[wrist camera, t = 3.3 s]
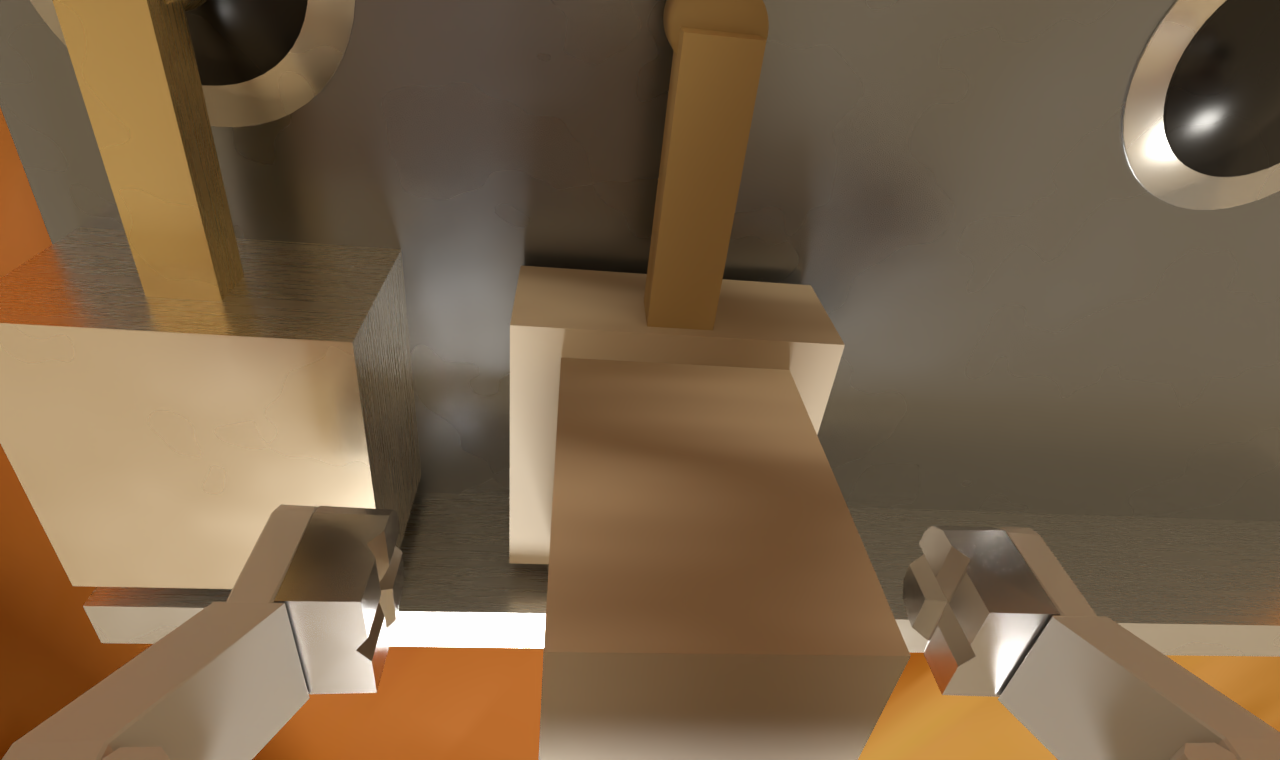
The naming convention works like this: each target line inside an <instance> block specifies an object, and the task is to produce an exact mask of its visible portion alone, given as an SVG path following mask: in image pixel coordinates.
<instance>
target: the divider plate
mask: <svg viewBox="0 0 1280 760" xmlns="http://www.w3.org/2000/svg"><path fill="white" fill-rule="evenodd" d="M763 2H764V4H765V7H766V10H767V14H768V22H769V29H768V37H767V41H766V46H765V51H764V57H763V62H762V68H761V73H760V79H759V84H758V89H757V95H756V100H755V106H754V111H753V117H752V122H751V127H750V133H749V138H748V144H747V149H746V154H745V160H744V165H743V171H742V176H741V182H740V187H739V192H738V198H737V203H736V209H735V214H734V220H733V225H732V230H731V236H730V241H729V247H728V252H727V258H726V263H725V268H724V274H723V279H726V280H741V281H756V282H771V283H785V284H800V285H811V286H812V288H813V290H814V292H815V293H816V295H817V297H818V299H819V300H820V302H821V304H822V306H823V307H824V309H825V311H826V313H827V314H828V316H829V318H830V320H831V321H832V323H833V325H834V327H835V328H836V330H837V332H838V334H839V335H840V337H841V339H842V341H843V342H844V344H845V346H844V350H843V353H842V356H841V359H840V363H839V366H838V369H837V373H836V376H835V379H834V382H833V386H832V389H831V392H830V395H829V399H828V402H827V405H826V408H825V412H824V415H823V418H822V421H821V425H820V428H819V431H818V435H817V436H818V438H819V441H820V443H821V445H822V448H823V450H824V453H825V455H826V457H827V460H828V462H829V464H830V467H831V469H832V471H833V474H834V476H835V478H836V481H837V483H838V486H839V488H840V490H841V493H842V495H843V497H844V500H845V502H846V504H847V507H848V509H849V512H850V514H851V516H852V519H853V521H854V523H855V526H856V528H857V530H858V533H859V535H860V538H861V540H862V542H863V545H864V547H865V549H866V552H867V554H868V556H869V559H870V561H871V563H872V566H873V568H874V571H875V573H876V575H877V578H878V580H879V582H880V585H881V587H882V589H883V592H884V594H885V597H886V599H887V601H888V604H889V606H890V608H891V611H892V613H893V615H894V618H895V620H896V622H897V625H898V627H899V630H900V632H901V634H902V637H903V639H904V641H905V644H906V646H907V648H908V651H909V652H924V651H925V648H926V644H927V641H928V640H927V639H925V638H924V637H923V636H922V635H921V634H919V633H918V632H917V631H916V630H915V629H913V628H912V626H911V624H910V621H909V619H908V617H907V614H906V612H905V607H904V603H903V579H904V577H905V574H906V572H907V569H908V567H909V564H911V563H912V562H914V561H915V560H916V559H918V558H919V557H921V556H922V555H924V554H923V552H922V549H921V547H920V545H919V542H920V540H921V538H922V536H923V534H924V532H925V531H926V530H927V529H929V528H930V527H931V526H970V527H993V528H996V527H1021V528H1031V529H1032V530H1034V531H1035V532H1037V533H1038V534H1039V535H1040V536H1041V538H1042V539H1043V540H1044V542H1045V543H1046V545H1047V546H1048V547H1049V549H1050V550H1051V552H1052V553H1053V554H1054V556H1055V557H1056V559H1057V560H1058V561H1059V563H1060V564H1061V566H1062V567H1063V569H1064V570H1065V571H1066V573H1067V574H1068V576H1069V577H1070V578H1071V580H1072V581H1073V583H1074V584H1075V585H1076V587H1077V588H1078V590H1079V591H1080V592H1081V594H1082V595H1083V597H1084V598H1085V599H1086V601H1087V602H1088V604H1089V605H1090V606H1091V608H1092V609H1093V611H1094V612H1095V613H1096V615H1097V616H1098V617H1109V618H1110V619H1112V620H1113V621H1115V622H1116V623H1118V624H1119V625H1121V626H1122V627H1124V628H1125V629H1127V630H1128V631H1130V632H1131V633H1132V634H1134V635H1135V636H1137V637H1138V638H1140V639H1141V640H1143V641H1144V642H1146V643H1147V644H1149V645H1150V646H1152V647H1153V648H1155V649H1156V650H1158V651H1159V652H1161V653H1162V654H1164V655H1197V656H1280V0H763ZM665 4H666V0H0V107H1V109H2V112H3V115H4V117H5V120H6V123H7V125H8V128H9V131H10V133H11V136H12V139H13V141H14V144H15V146H16V149H17V152H18V154H19V157H20V160H21V162H22V165H23V168H24V170H25V173H26V175H27V178H28V181H29V183H30V186H31V189H32V191H33V194H34V197H35V199H36V202H37V205H38V207H39V210H40V212H41V215H42V218H43V220H44V223H45V226H46V228H47V231H48V234H49V236H50V239H51V241H52V244H53V245H51V246H50V247H48V248H47V249H45V250H44V251H42V252H41V253H39V254H37V255H36V256H34V257H33V258H31V259H30V260H28V261H27V262H25V263H24V264H22V265H21V266H19V267H18V268H16V269H15V270H13V271H11V272H10V273H8V274H7V275H5V276H4V277H2V278H1V279H0V443H1V445H2V447H3V449H4V451H5V453H6V455H7V457H8V459H9V461H10V463H11V465H12V467H13V469H14V471H15V473H16V475H17V477H18V479H19V481H20V483H21V485H22V487H23V489H24V491H25V493H26V495H27V497H28V499H29V501H30V503H31V505H32V507H33V508H34V510H35V512H36V514H37V516H38V518H39V520H40V522H41V524H42V526H43V528H44V530H45V532H46V534H47V536H48V538H49V540H50V542H51V544H52V546H53V548H54V550H55V552H56V554H57V556H58V558H59V560H60V562H61V564H62V566H63V568H64V570H65V572H66V574H67V576H68V578H69V580H70V582H71V584H72V586H93V587H96V588H95V590H94V591H93V592H92V594H91V595H90V597H89V598H88V599H87V601H86V602H85V604H84V605H83V607H84V609H85V611H86V613H87V615H88V617H89V619H90V621H91V623H92V625H93V627H94V629H95V631H96V633H97V635H98V637H99V639H100V641H101V643H138V644H154V643H156V642H157V641H159V640H160V639H162V638H163V637H164V636H166V635H167V634H169V633H170V632H171V631H173V630H174V629H176V628H177V627H179V626H180V625H181V624H183V623H184V622H186V621H187V620H189V619H190V618H191V617H193V616H194V615H196V614H197V613H198V612H200V611H201V610H203V609H204V608H206V607H207V606H208V605H210V604H211V603H213V602H226V600H227V598H228V596H229V595H230V593H231V591H232V589H233V587H234V585H235V583H236V581H237V579H238V577H239V575H240V573H241V571H242V569H243V567H244V565H245V563H246V562H247V560H248V558H249V556H250V554H251V552H252V550H253V548H254V546H255V544H256V542H257V540H258V538H259V536H260V534H261V532H262V530H263V529H264V527H265V525H266V523H267V521H268V519H269V517H270V515H271V513H272V512H273V511H274V510H275V509H276V508H278V507H279V506H280V505H281V504H284V505H302V506H334V507H353V508H371V509H389V510H395V511H396V512H397V514H398V521H399V527H400V531H399V534H398V538H397V541H396V545H395V546H396V547H397V548H399V549H400V550H401V551H402V552H403V562H404V582H403V589H402V597H401V603H400V607H399V611H398V615H397V619H396V620H395V621H394V622H393V623H392V624H391V625H390V626H389V627H388V628H387V629H386V631H387V638H388V645H389V646H402V647H491V648H544V637H545V620H546V603H547V586H548V569H549V564H515V563H509V518H510V322H511V316H512V311H513V305H514V300H515V294H516V289H517V283H518V278H519V272H520V267H521V266H535V267H550V268H565V269H580V270H594V271H609V272H624V273H638V274H647V269H648V261H649V252H650V244H651V235H652V227H653V219H654V210H655V202H656V193H657V185H658V177H659V168H660V160H661V151H662V143H663V135H664V126H665V118H666V109H667V101H668V93H669V84H670V76H671V67H672V59H673V49H672V47H671V45H670V43H669V41H668V39H667V37H666V34H665V30H664V22H663V15H664V7H665Z"/></svg>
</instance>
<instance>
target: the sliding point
mask: <svg viewBox="0 0 1280 760" xmlns="http://www.w3.org/2000/svg"><path fill="white" fill-rule="evenodd" d="M663 22H664V30H665V34H666V37H667V39H668V41H669V43H670V45H671V47H672V49H673V59H672V67H671V76H670V84H669V93H668V101H667V109H666V118H665V126H664V135H663V143H662V151H661V160H660V168H659V177H658V185H657V193H656V202H655V210H654V219H653V227H652V235H651V244H650V252H649V261H648V269H647V274H638V273H624V272H609V271H594V270H580V269H565V268H550V267H535V266H521V267H520V272H519V278H518V283H517V289H516V294H515V300H514V305H513V311H512V316H511V322H510V518H509V563H515V564H549V569H548V586H547V603H546V620H545V637H544V655H543V677H542V699H541V721H540V743H539V760H858V758H859V756H860V754H861V752H862V750H863V748H864V746H865V744H866V742H867V740H868V739H869V737H870V735H871V733H872V731H873V729H874V727H875V725H876V723H877V721H878V719H879V717H880V715H881V713H882V711H883V709H884V707H885V705H886V703H887V701H888V699H889V697H890V695H891V693H892V692H893V690H894V688H895V686H896V684H897V682H898V680H899V678H900V676H901V674H902V672H903V670H904V668H905V666H906V664H907V662H908V660H909V658H910V653H909V651H908V648H907V646H906V644H905V641H904V639H903V637H902V634H901V632H900V630H899V627H898V625H897V622H896V620H895V618H894V615H893V613H892V611H891V608H890V606H889V604H888V601H887V599H886V597H885V594H884V592H883V589H882V587H881V585H880V582H879V580H878V578H877V575H876V573H875V571H874V568H873V566H872V563H871V561H870V559H869V556H868V554H867V552H866V549H865V547H864V545H863V542H862V540H861V538H860V535H859V533H858V530H857V528H856V526H855V523H854V521H853V519H852V516H851V514H850V512H849V509H848V507H847V504H846V502H845V500H844V497H843V495H842V493H841V490H840V488H839V486H838V483H837V481H836V478H835V476H834V474H833V471H832V469H831V467H830V464H829V462H828V460H827V457H826V455H825V453H824V450H823V448H822V445H821V443H820V441H819V438H818V436H817V435H818V431H819V428H820V425H821V421H822V418H823V415H824V412H825V408H826V405H827V402H828V399H829V395H830V392H831V389H832V386H833V382H834V379H835V376H836V373H837V369H838V366H839V363H840V359H841V356H842V353H843V350H844V346H845V344H844V342H843V341H842V339H841V337H840V335H839V334H838V332H837V330H836V328H835V327H834V325H833V323H832V321H831V320H830V318H829V316H828V314H827V313H826V311H825V309H824V307H823V306H822V304H821V302H820V300H819V299H818V297H817V295H816V293H815V292H814V290H813V288H812V286H811V285H800V284H785V283H771V282H756V281H741V280H726V279H723V274H724V268H725V263H726V258H727V252H728V247H729V241H730V236H731V230H732V225H733V220H734V214H735V209H736V203H737V198H738V192H739V187H740V182H741V176H742V171H743V165H744V160H745V154H746V149H747V144H748V138H749V133H750V127H751V122H752V117H753V111H754V106H755V100H756V95H757V89H758V84H759V79H760V73H761V68H762V62H763V57H764V51H765V46H766V41H767V37H768V29H769V22H768V14H767V10H766V7H765V4H764V2H763V0H666V4H665V7H664V15H663Z"/></svg>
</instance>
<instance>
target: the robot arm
mask: <svg viewBox="0 0 1280 760" xmlns="http://www.w3.org/2000/svg"><path fill="white" fill-rule="evenodd" d="M399 531H400V527H399V521H398V514H397V512H396V511H395V510H389V509H371V508H353V507H334V506H302V505H284V504H281V505H280V506H279V507H278V508H276V509H275V510H274V511H273V512H272V513H271V515H270V517H269V519H268V521H267V523H266V525H265V527H264V529H263V530H262V532H261V534H260V536H259V538H258V540H257V542H256V544H255V546H254V548H253V550H252V552H251V554H250V556H249V558H248V560H247V562H246V563H245V565H244V567H243V569H242V571H241V573H240V575H239V577H238V579H237V581H236V583H235V585H234V587H233V589H232V591H231V593H230V595H229V596H228V598H227V600H226V602H213V603H211V604H210V605H208V606H207V607H206V608H204V609H203V610H201V611H200V612H198V613H197V614H196V615H194V616H193V617H191V618H190V619H189V620H187V621H186V622H184V623H183V624H181V625H180V626H179V627H177V628H176V629H174V630H173V631H171V632H170V633H169V634H167V635H166V636H164V637H163V638H162V639H160V640H159V641H157V642H156V643H154V644H153V645H152V646H150V647H149V648H147V649H146V650H145V651H143V652H142V653H140V654H139V655H137V656H136V657H135V658H133V659H132V660H130V661H129V662H128V663H126V664H125V665H123V666H122V667H120V668H119V669H118V670H116V671H115V672H113V673H112V674H110V675H109V676H108V677H106V678H105V679H103V680H102V681H101V682H99V683H98V684H96V685H95V686H93V687H92V688H91V689H89V690H88V691H86V692H85V693H84V694H82V695H81V696H79V697H78V698H76V699H75V700H74V701H72V702H71V703H69V704H68V705H67V706H65V707H64V708H62V709H61V710H59V711H58V712H57V713H55V714H54V715H52V716H51V717H49V718H48V719H47V720H45V721H44V722H42V723H41V724H40V725H38V726H37V727H35V728H34V729H32V730H31V731H30V732H28V733H27V734H25V735H24V736H23V737H21V738H20V739H18V740H17V741H15V742H14V743H13V744H12V745H11V747H10V748H9V750H8V751H7V753H6V754H5V755H4V757H3V758H2V760H252V759H253V758H254V757H255V756H256V755H257V754H258V753H259V752H260V751H261V750H262V748H263V747H264V746H265V745H266V744H267V743H268V742H269V741H270V740H271V739H272V738H273V737H274V736H275V735H276V734H277V732H278V731H279V730H280V729H281V728H282V727H283V726H284V725H285V724H286V723H287V722H288V721H289V720H290V719H291V717H292V716H293V715H294V714H295V713H296V712H297V711H298V710H299V709H300V708H301V707H302V706H303V705H304V704H305V703H306V701H307V700H308V699H309V694H338V693H377V690H378V686H379V683H380V679H381V675H382V672H383V668H384V664H385V661H386V657H387V653H388V649H389V645H388V638H387V631H386V629H387V628H388V627H389V626H390V625H391V624H392V623H393V622H394V621H395V620H396V619H397V615H398V611H399V607H400V603H401V597H402V589H403V582H404V562H403V552H402V551H401V550H400V549H399V548H397V547H396V546H395V545H396V541H397V538H398V534H399ZM919 545H920V547H921V549H922V552H923V554H924V555H922V556H921V557H919V558H918V559H916V560H915V561H914V562H912V563H911V564H909V567H908V569H907V572H906V574H905V577H904V579H903V603H904V607H905V612H906V614H907V617H908V619H909V621H910V624H911V626H912V628H913V629H915V630H916V631H917V632H918V633H919V634H921V635H922V636H923V637H924V638H925V639H927V640H928V641H927V644H926V648H925V651H924V656H925V658H926V660H927V662H928V665H929V667H930V669H931V671H932V673H933V676H934V678H935V680H936V682H937V684H938V687H939V689H940V691H941V693H942V695H963V696H994V697H999V698H998V700H999V701H1000V702H1001V703H1002V704H1003V705H1004V706H1005V707H1006V708H1007V709H1008V710H1009V711H1010V712H1011V713H1012V714H1013V715H1014V716H1015V717H1016V718H1017V719H1018V720H1019V721H1020V722H1021V723H1022V724H1023V725H1024V726H1025V727H1026V728H1027V729H1028V730H1029V731H1030V732H1031V733H1032V734H1033V735H1034V736H1035V737H1036V738H1037V739H1038V740H1039V741H1040V742H1041V743H1042V744H1043V745H1044V746H1045V747H1046V748H1047V749H1048V750H1049V751H1050V752H1051V753H1052V754H1053V755H1054V756H1055V757H1056V758H1057V759H1058V760H1280V732H1278V731H1277V730H1275V729H1274V728H1272V727H1271V726H1270V725H1268V724H1267V723H1265V722H1264V721H1262V720H1261V719H1259V718H1258V717H1256V716H1255V715H1253V714H1252V713H1250V712H1249V711H1247V710H1246V709H1244V708H1243V707H1241V706H1240V705H1238V704H1237V703H1235V702H1234V701H1232V700H1231V699H1229V698H1228V697H1226V696H1225V695H1223V694H1222V693H1220V692H1219V691H1217V690H1216V689H1214V688H1213V687H1211V686H1210V685H1208V684H1207V683H1205V682H1204V681H1202V680H1201V679H1200V678H1198V677H1197V676H1195V675H1194V674H1192V673H1191V672H1189V671H1188V670H1186V669H1185V668H1183V667H1182V666H1180V665H1179V664H1177V663H1176V662H1174V661H1173V660H1171V659H1170V658H1168V657H1167V656H1165V655H1164V654H1162V653H1161V652H1159V651H1158V650H1156V649H1155V648H1153V647H1152V646H1150V645H1149V644H1147V643H1146V642H1144V641H1143V640H1141V639H1140V638H1138V637H1137V636H1135V635H1134V634H1132V633H1131V632H1130V631H1128V630H1127V629H1125V628H1124V627H1122V626H1121V625H1119V624H1118V623H1116V622H1115V621H1113V620H1112V619H1110V618H1109V617H1098V616H1097V615H1096V613H1095V612H1094V611H1093V609H1092V608H1091V606H1090V605H1089V604H1088V602H1087V601H1086V599H1085V598H1084V597H1083V595H1082V594H1081V592H1080V591H1079V590H1078V588H1077V587H1076V585H1075V584H1074V583H1073V581H1072V580H1071V578H1070V577H1069V576H1068V574H1067V573H1066V571H1065V570H1064V569H1063V567H1062V566H1061V564H1060V563H1059V561H1058V560H1057V559H1056V557H1055V556H1054V554H1053V553H1052V552H1051V550H1050V549H1049V547H1048V546H1047V545H1046V543H1045V542H1044V540H1043V539H1042V538H1041V536H1040V535H1039V534H1038V533H1037V532H1035V531H1034V530H1032V529H1031V528H1021V527H996V528H993V527H970V526H931V527H930V528H929V529H927V530H926V531H925V532H924V534H923V536H922V538H921V540H920V542H919Z"/></svg>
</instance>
